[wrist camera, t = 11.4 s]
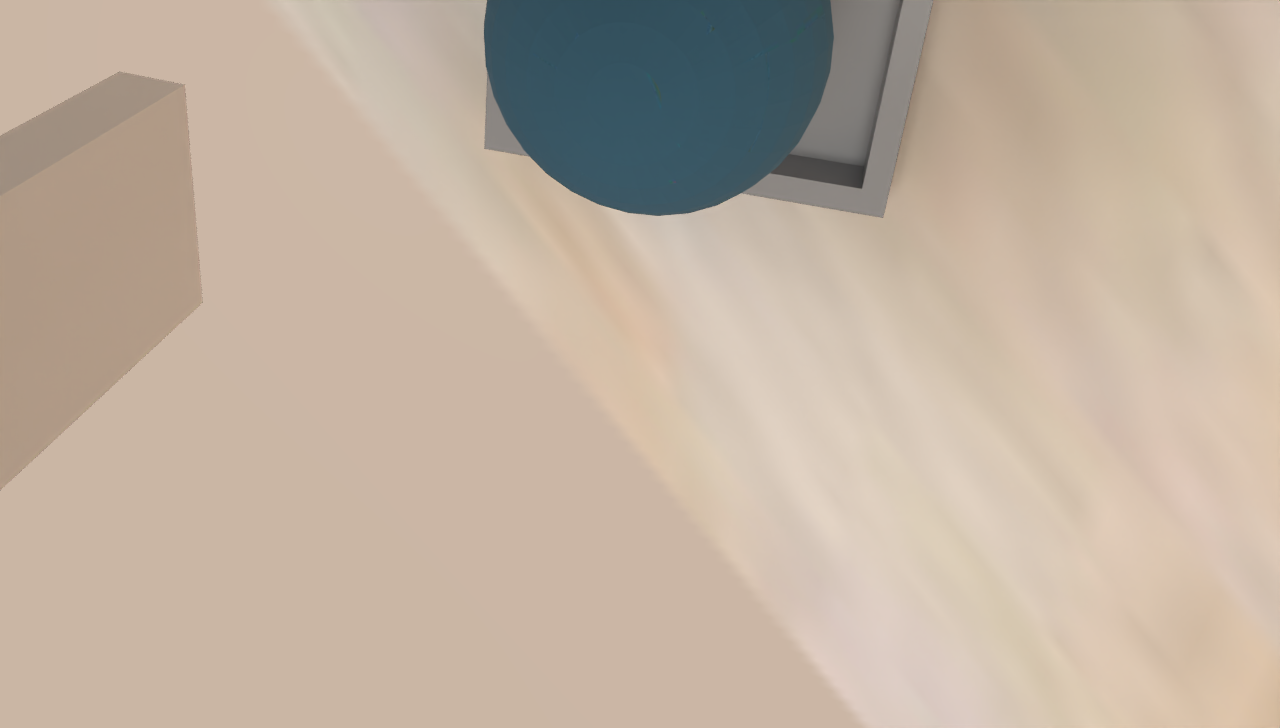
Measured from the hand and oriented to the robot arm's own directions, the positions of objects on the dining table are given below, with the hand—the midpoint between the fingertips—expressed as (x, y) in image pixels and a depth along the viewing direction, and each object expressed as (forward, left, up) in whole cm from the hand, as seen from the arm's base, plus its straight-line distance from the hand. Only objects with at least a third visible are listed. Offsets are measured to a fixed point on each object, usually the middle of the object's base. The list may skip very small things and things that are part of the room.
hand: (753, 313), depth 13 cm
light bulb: (+2, -4, -25) cm, 25 cm away
